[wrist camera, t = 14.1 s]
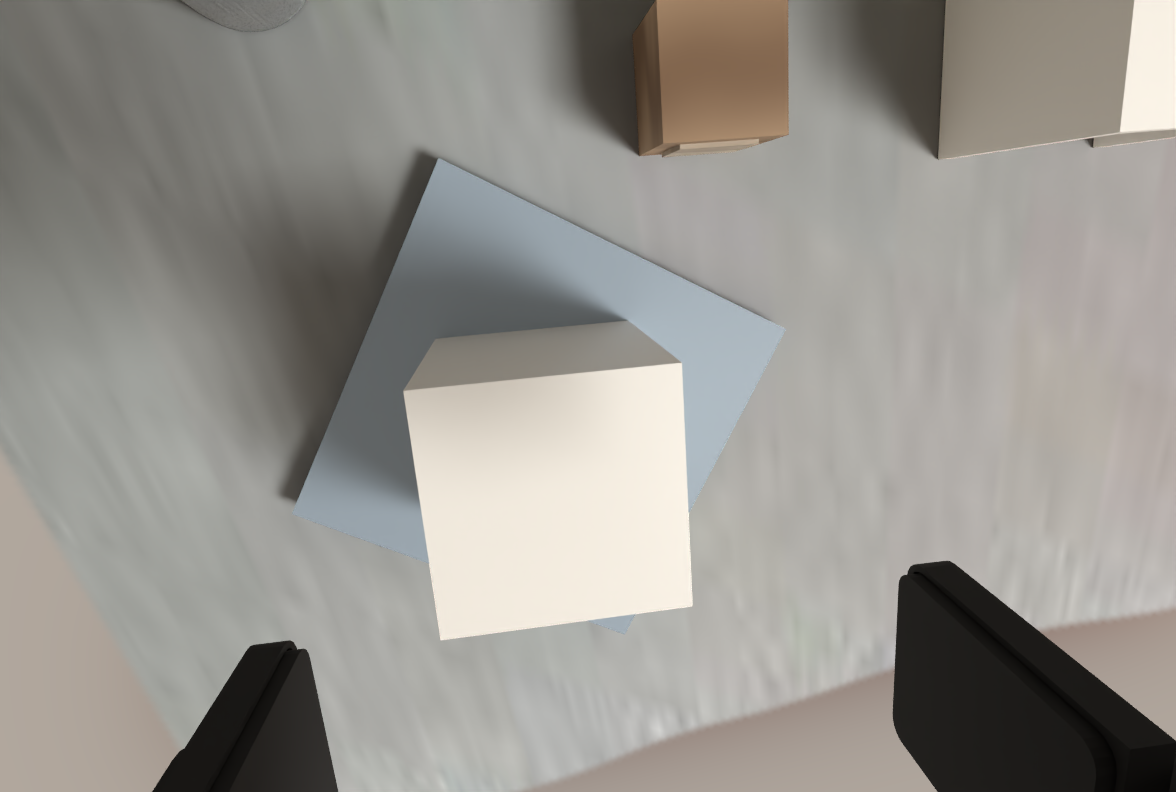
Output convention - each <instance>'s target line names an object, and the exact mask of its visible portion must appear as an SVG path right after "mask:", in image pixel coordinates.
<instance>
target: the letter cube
mask: <svg viewBox="0 0 1176 792" xmlns="http://www.w3.org/2000/svg"><path fill="white" fill-rule="evenodd" d="M632 36H633V54H634V72H635V90H636V107H637V125H638V143H639V156H646V155H659V154H662V157H673V156H687V155H701V154H714V153H728V152H735V151H738V150H741V149H744V148H748V147H751V146H755V145H758V144H761V143H764V142H767V141H770V140H773V139H776V138H780V137H783V136H786V135H789V127H788V0H655V2H654V3H653V5H652V6H651V8H650V9H649V11H648V12H647V14H646V15H645V17H644V18H643V20H642V21H641V23H640V24H639V26H638V27H637V29H636V30H635V32H634V33H633V35H632Z"/></svg>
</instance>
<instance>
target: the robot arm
mask: <svg viewBox="0 0 1176 792" xmlns="http://www.w3.org/2000/svg"><path fill="white" fill-rule="evenodd" d="M893 699H894V700H893V721H894V726H895V729H896V732H897V734H898V737H899V738H900V740H901V742H902V743H903V745H904V746H905V747H906V749H907V750H908V751H909V753H910V754H911V756H912V757H913V758H914V760H915V761H916V763H917V764H918V765H919V767H920V768H921V769H922V771H923V772H924V773H925V775H926V776H927V777H928V779H929V780H930V782H931V783H932V785H933V786H934V787H935V789H936V790H937V791H938V792H1176V741H1175V740H1174V739H1173V738H1172V737H1170V736H1169V735H1168V734H1167V733H1165V732H1164V731H1163V730H1162V729H1160V728H1159V727H1158V726H1157V725H1155V724H1154V723H1153V722H1152V721H1150V720H1149V719H1148V718H1147V717H1145V716H1144V715H1143V714H1142V713H1140V712H1139V711H1138V710H1137V709H1135V708H1134V707H1133V706H1132V705H1130V704H1129V703H1128V702H1126V701H1125V700H1124V699H1123V698H1122V697H1120V696H1119V695H1118V694H1117V693H1115V692H1114V691H1113V690H1112V689H1110V688H1109V687H1108V686H1107V685H1105V684H1104V683H1103V682H1101V681H1100V680H1099V679H1098V678H1097V677H1095V676H1094V675H1093V674H1092V673H1090V672H1089V671H1088V670H1087V669H1085V668H1084V667H1083V666H1082V665H1080V664H1079V663H1078V662H1077V661H1075V660H1074V659H1073V658H1072V657H1070V656H1069V655H1068V654H1067V653H1065V652H1064V651H1063V650H1062V649H1060V648H1059V647H1058V646H1057V645H1055V644H1054V643H1053V642H1052V641H1050V640H1049V639H1048V638H1047V637H1045V636H1044V635H1043V634H1042V633H1040V632H1039V631H1038V630H1037V629H1035V628H1034V627H1033V626H1032V625H1030V624H1029V623H1028V622H1027V621H1025V620H1024V619H1023V618H1022V617H1020V616H1019V615H1018V614H1017V613H1015V612H1014V611H1013V610H1012V609H1010V608H1009V607H1008V606H1007V605H1005V604H1004V603H1003V602H1002V601H1000V600H999V599H998V598H997V597H995V596H994V595H993V594H992V593H990V592H989V591H988V590H987V589H985V588H984V587H983V586H982V585H980V584H979V583H978V582H977V581H975V580H974V579H973V578H972V577H970V576H969V575H968V574H967V573H965V572H964V571H963V570H962V569H960V568H959V567H958V566H957V565H955V564H954V563H952V562H950V561H940V562H932V563H924V564H916V565H913V566H911V567H910V568H909V570H908V574H907V575H903V576H902V577H901V578H900V580H899V590H898V612H897V633H896V655H895V676H894V698H893ZM152 792H338V789H337V784H336V779H335V774H334V770H333V765H332V760H331V756H330V751H329V746H328V741H327V737H326V732H325V727H324V722H323V718H322V713H321V708H320V704H319V699H318V694H317V689H316V685H315V680H314V675H313V671H312V666H311V661H310V657H309V654H308V652H307V650H306V649H298V650H297V648H296V646H295V644H294V642H292V641H282V642H274V643H266V644H257V645H252V646H250V647H249V648H248V650H247V651H246V652H245V654H244V656H243V657H242V659H241V660H240V662H239V663H238V665H237V667H236V668H235V670H234V671H233V673H232V674H231V676H230V678H229V679H228V681H227V682H226V684H225V686H224V687H223V689H222V690H221V692H220V693H219V695H218V697H217V698H216V700H215V701H214V703H213V705H212V706H211V708H210V709H209V711H208V712H207V714H206V716H205V717H204V719H203V720H202V722H201V723H200V725H199V727H198V728H197V730H196V731H195V733H194V735H193V736H192V738H191V739H190V741H189V742H188V744H187V746H186V747H185V749H183V750H181V751H180V752H179V753H178V754H177V755H176V757H175V758H174V759H173V760H172V762H171V763H170V765H169V767H168V768H167V770H166V771H165V773H164V774H163V776H162V777H161V779H160V781H159V782H158V784H157V785H156V787H155V788H154V790H153V791H152Z"/></svg>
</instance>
